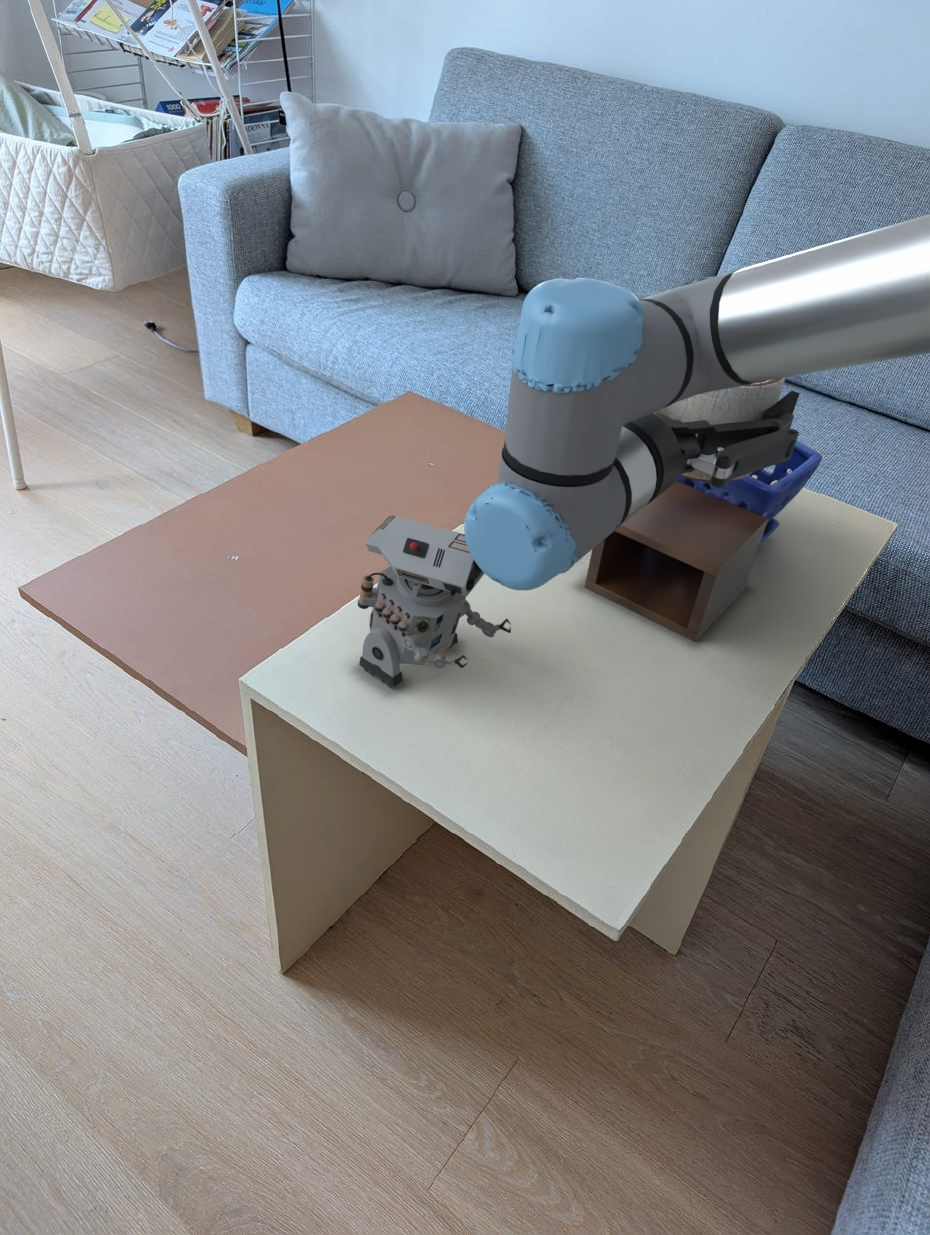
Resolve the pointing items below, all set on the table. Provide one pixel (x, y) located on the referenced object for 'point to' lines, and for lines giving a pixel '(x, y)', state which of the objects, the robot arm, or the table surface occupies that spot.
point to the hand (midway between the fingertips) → (733, 385)
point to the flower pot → (766, 486)
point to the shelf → (678, 559)
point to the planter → (726, 409)
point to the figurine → (417, 597)
